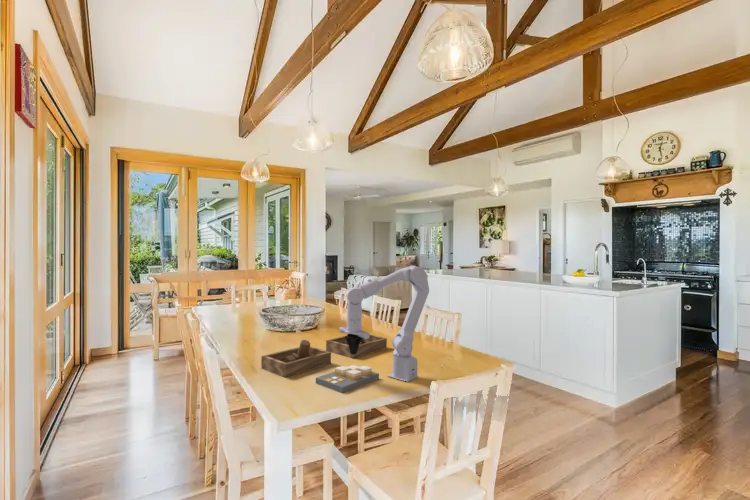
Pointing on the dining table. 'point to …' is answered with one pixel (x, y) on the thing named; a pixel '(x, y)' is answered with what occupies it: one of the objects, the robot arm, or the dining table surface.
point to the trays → (318, 355)
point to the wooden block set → (299, 352)
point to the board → (344, 381)
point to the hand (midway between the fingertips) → (353, 353)
